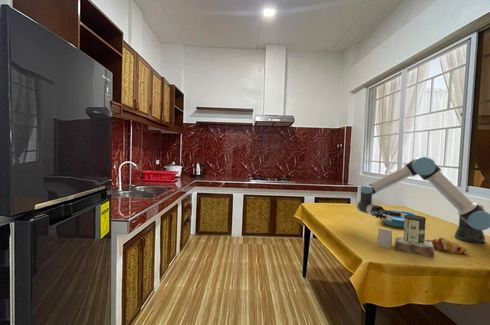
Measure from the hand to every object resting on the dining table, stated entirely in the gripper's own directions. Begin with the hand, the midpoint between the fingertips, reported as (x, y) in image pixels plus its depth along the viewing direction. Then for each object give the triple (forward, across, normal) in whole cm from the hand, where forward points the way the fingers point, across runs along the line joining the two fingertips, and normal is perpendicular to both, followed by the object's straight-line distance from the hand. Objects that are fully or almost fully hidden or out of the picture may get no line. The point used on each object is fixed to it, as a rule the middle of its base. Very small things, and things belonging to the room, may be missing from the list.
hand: (400, 218), depth 159 cm
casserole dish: (-43, -41, -16) cm, 61 cm away
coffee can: (+10, 0, -11) cm, 15 cm away
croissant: (+12, -20, -17) cm, 29 cm away
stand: (+10, 0, -16) cm, 19 cm away
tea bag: (+1, +12, -16) cm, 20 cm away
